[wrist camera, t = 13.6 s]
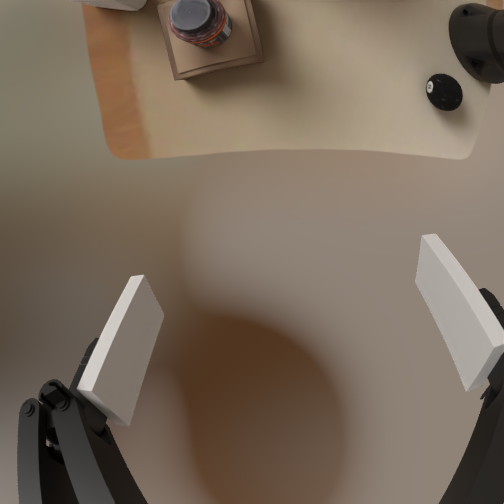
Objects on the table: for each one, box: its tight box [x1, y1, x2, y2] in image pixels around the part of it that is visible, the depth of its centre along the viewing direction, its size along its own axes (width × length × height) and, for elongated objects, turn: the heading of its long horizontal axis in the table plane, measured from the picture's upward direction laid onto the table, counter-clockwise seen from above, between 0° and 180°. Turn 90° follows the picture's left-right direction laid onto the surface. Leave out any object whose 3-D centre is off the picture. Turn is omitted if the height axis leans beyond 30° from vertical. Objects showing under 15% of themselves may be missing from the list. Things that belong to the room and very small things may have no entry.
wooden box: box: [157, 0, 264, 80], centre depth 32 cm, size 12×12×5 cm
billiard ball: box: [426, 74, 463, 111], centre depth 33 cm, size 6×6×6 cm
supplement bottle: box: [168, 0, 232, 48], centre depth 25 cm, size 6×6×11 cm
